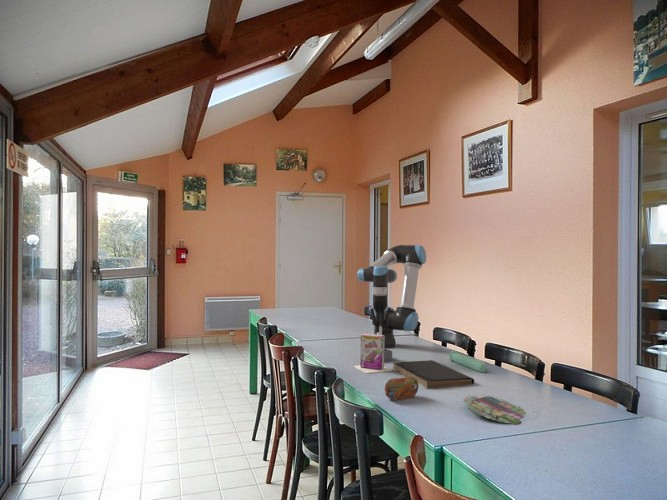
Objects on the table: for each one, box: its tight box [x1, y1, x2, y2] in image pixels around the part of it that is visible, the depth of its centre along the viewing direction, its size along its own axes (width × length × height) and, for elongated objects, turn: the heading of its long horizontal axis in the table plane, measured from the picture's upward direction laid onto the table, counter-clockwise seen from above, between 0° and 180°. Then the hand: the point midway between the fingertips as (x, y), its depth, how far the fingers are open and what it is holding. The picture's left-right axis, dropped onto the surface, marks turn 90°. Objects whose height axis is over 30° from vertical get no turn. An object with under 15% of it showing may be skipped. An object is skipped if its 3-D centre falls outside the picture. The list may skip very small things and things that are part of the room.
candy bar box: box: [359, 333, 385, 370], centre depth 228 cm, size 11×5×16 cm, turn 70°
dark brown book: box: [392, 359, 475, 389], centre depth 216 cm, size 33×4×24 cm
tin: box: [384, 376, 419, 402], centre depth 183 cm, size 15×3×8 cm, turn 117°
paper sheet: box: [353, 364, 393, 375], centre depth 228 cm, size 14×14×1 cm
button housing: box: [384, 348, 393, 362], centre depth 248 cm, size 10×10×5 cm
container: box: [448, 350, 487, 373], centre depth 234 cm, size 6×6×25 cm
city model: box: [462, 394, 527, 425], centre depth 168 cm, size 25×24×6 cm
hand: (379, 338), depth 248 cm, fingers closed
